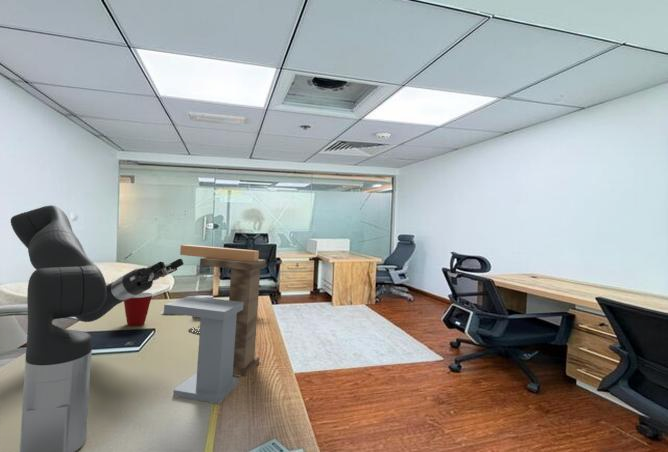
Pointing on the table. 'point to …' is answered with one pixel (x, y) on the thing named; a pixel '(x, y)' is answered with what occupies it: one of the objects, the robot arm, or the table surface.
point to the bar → (219, 253)
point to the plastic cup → (137, 309)
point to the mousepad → (194, 330)
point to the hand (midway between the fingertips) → (173, 262)
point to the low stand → (210, 347)
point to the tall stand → (246, 291)
